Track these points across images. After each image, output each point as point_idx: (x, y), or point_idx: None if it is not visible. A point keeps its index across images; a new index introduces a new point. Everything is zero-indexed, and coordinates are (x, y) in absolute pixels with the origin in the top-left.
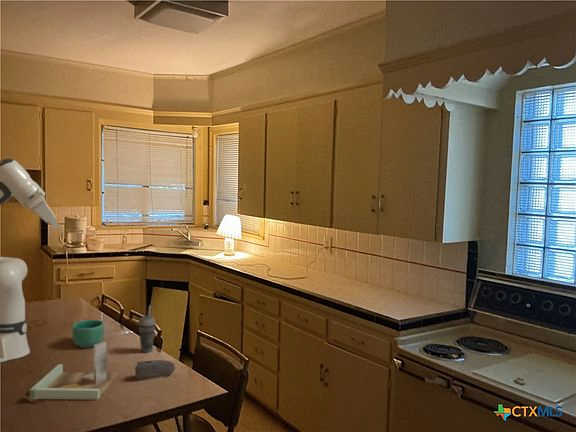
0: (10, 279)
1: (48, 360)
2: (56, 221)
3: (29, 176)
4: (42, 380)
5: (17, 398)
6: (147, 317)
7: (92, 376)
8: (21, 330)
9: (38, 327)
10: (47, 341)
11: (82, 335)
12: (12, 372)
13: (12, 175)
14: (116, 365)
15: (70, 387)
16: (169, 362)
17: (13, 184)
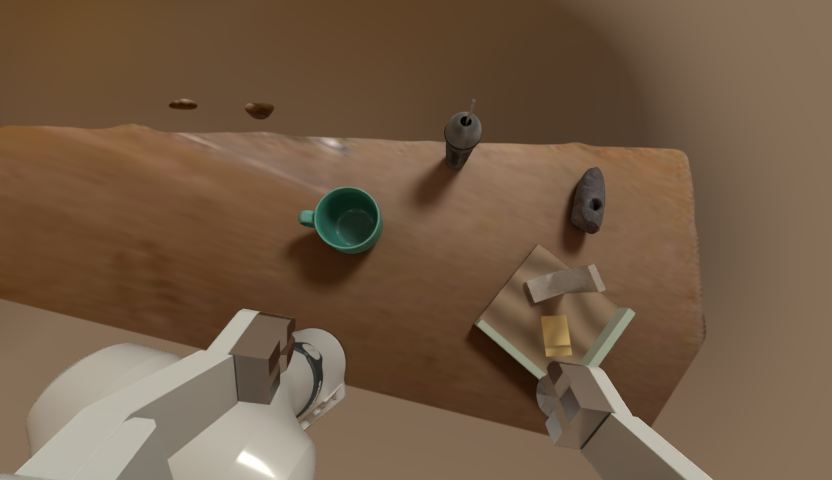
0: (311, 469)
1: (391, 315)
2: (683, 456)
3: None
4: (539, 374)
5: (534, 411)
6: (474, 125)
7: (545, 289)
8: (319, 360)
9: (175, 269)
10: (281, 283)
11: (372, 241)
12: (411, 387)
13: None
14: (490, 229)
15: (554, 330)
16: (601, 173)
17: None
